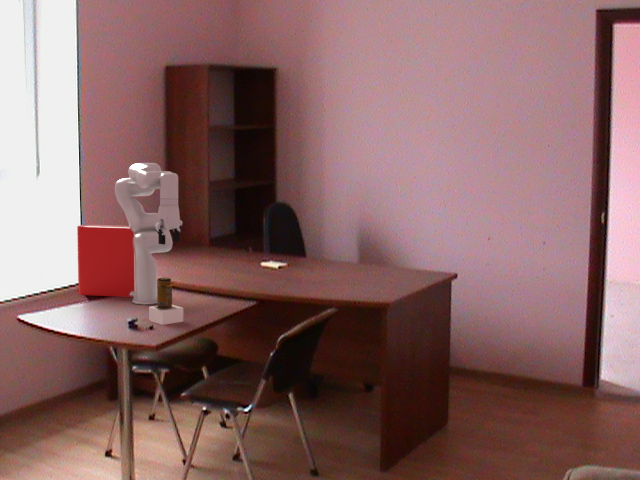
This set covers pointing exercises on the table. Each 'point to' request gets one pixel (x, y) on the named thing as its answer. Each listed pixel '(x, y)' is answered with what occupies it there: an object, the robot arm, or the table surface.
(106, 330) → the table surface
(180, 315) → the cream block
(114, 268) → the book
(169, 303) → the condiment
